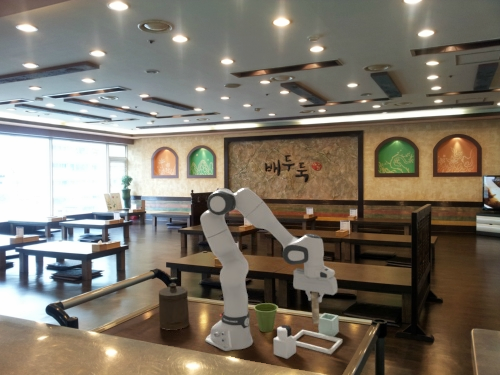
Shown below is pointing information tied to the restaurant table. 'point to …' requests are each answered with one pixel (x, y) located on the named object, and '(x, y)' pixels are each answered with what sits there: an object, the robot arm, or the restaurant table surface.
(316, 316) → the beech dowel
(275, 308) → the plant pot
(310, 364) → the restaurant table surface
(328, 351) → the melamine tray
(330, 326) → the celadon cup
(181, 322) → the wooden container
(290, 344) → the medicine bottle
